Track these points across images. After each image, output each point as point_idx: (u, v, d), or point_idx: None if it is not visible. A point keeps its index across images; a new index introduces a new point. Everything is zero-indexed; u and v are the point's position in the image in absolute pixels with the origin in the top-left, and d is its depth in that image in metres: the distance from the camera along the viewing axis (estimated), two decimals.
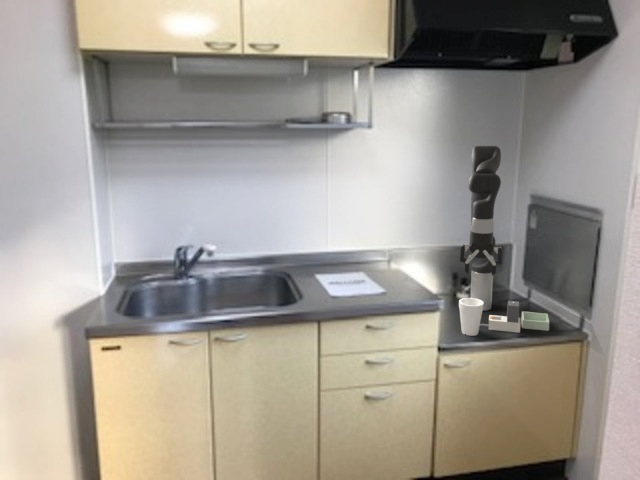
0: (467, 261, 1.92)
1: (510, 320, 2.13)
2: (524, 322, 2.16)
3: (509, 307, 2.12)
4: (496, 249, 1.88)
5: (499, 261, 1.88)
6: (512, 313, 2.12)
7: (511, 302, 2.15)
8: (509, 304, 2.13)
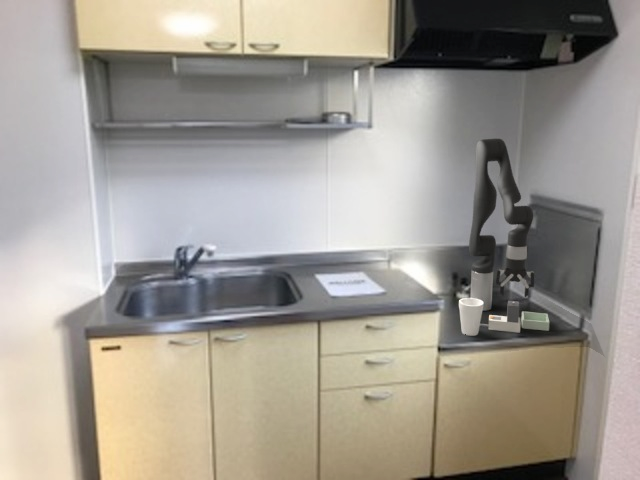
0: (502, 284, 2.12)
1: (510, 320, 2.13)
2: (524, 322, 2.16)
3: (509, 307, 2.12)
4: (529, 273, 2.09)
5: (532, 284, 2.09)
6: (512, 313, 2.12)
7: (511, 302, 2.15)
8: (509, 304, 2.13)
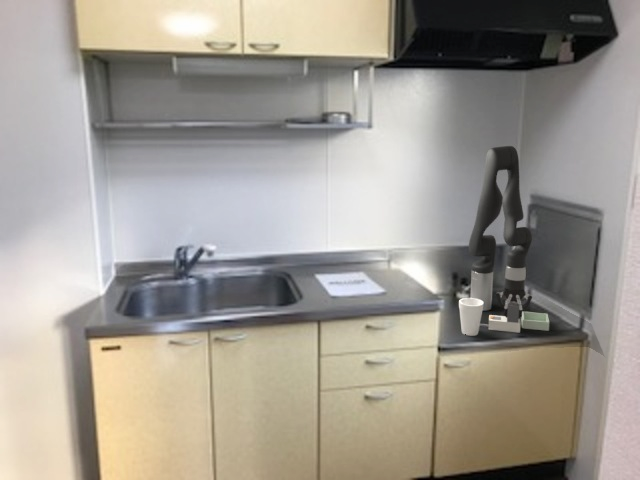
0: (506, 306, 2.14)
1: (510, 320, 2.13)
2: (524, 322, 2.16)
3: (509, 307, 2.12)
4: (527, 296, 2.11)
5: (525, 306, 2.11)
6: (512, 313, 2.12)
7: (511, 302, 2.15)
8: (509, 304, 2.13)
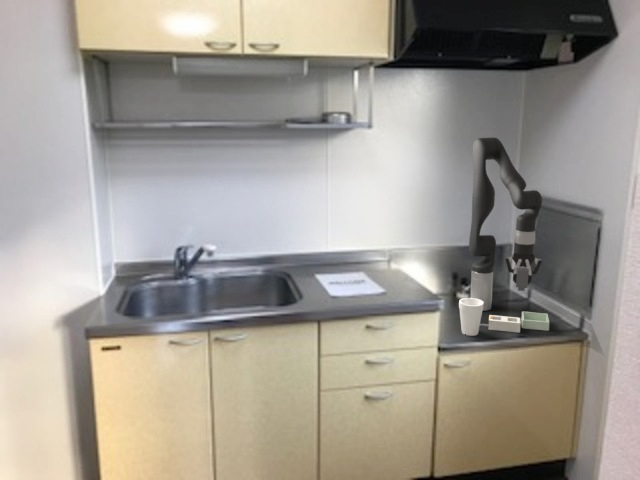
0: (515, 272, 2.12)
1: (519, 285, 2.11)
2: (524, 322, 2.16)
3: (518, 272, 2.10)
4: (537, 260, 2.09)
5: (534, 271, 2.09)
6: (521, 278, 2.10)
7: (520, 267, 2.13)
8: (518, 269, 2.11)
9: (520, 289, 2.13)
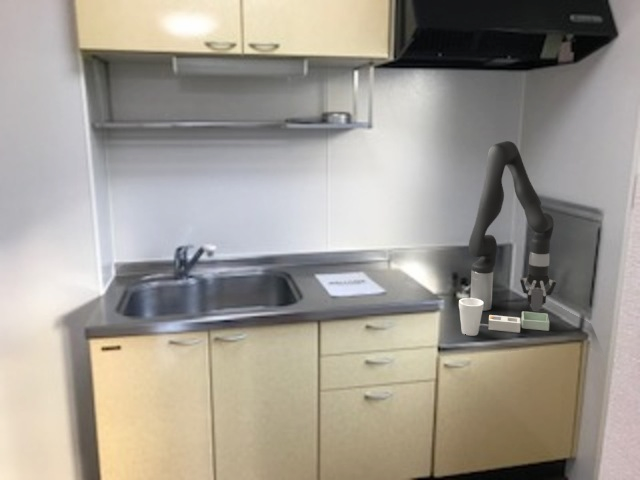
0: (530, 293, 2.16)
1: (534, 306, 2.15)
2: (524, 322, 2.16)
3: (533, 293, 2.14)
4: (551, 282, 2.13)
5: (549, 292, 2.14)
6: (536, 299, 2.14)
7: (535, 288, 2.17)
8: (533, 290, 2.15)
9: (535, 310, 2.17)
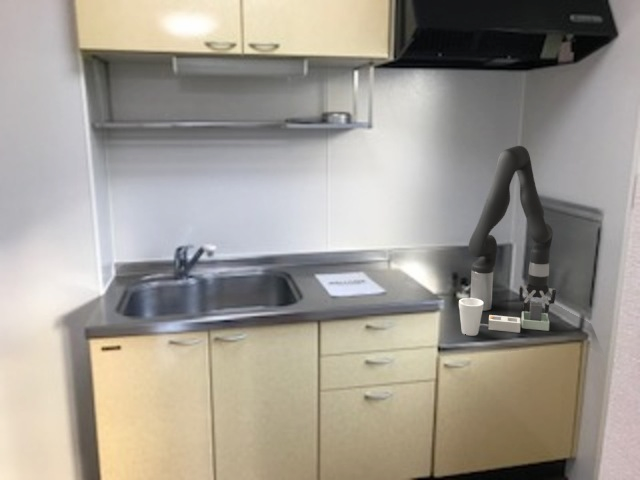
0: (526, 300, 2.18)
1: (533, 320, 2.17)
2: (524, 322, 2.16)
3: (532, 307, 2.16)
4: (551, 290, 2.14)
5: (552, 301, 2.14)
6: (535, 313, 2.16)
7: (534, 302, 2.19)
8: (532, 304, 2.17)
9: None
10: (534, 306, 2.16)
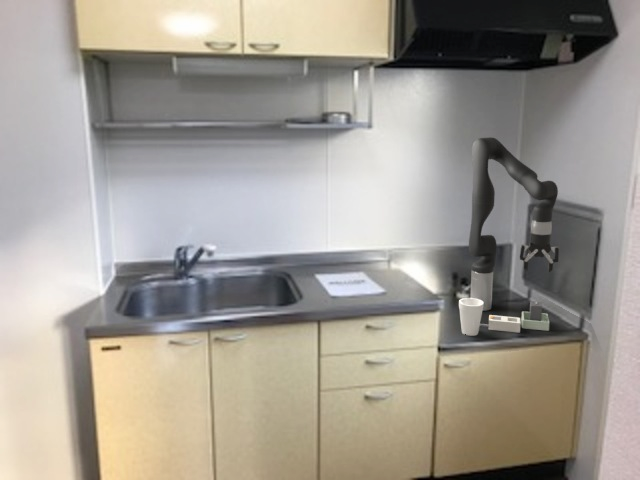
0: (526, 259, 2.14)
1: (533, 320, 2.17)
2: (524, 322, 2.16)
3: (532, 307, 2.16)
4: (553, 249, 2.10)
5: (556, 259, 2.10)
6: (535, 314, 2.16)
7: (534, 302, 2.19)
8: (532, 304, 2.17)
9: None
10: (534, 306, 2.16)
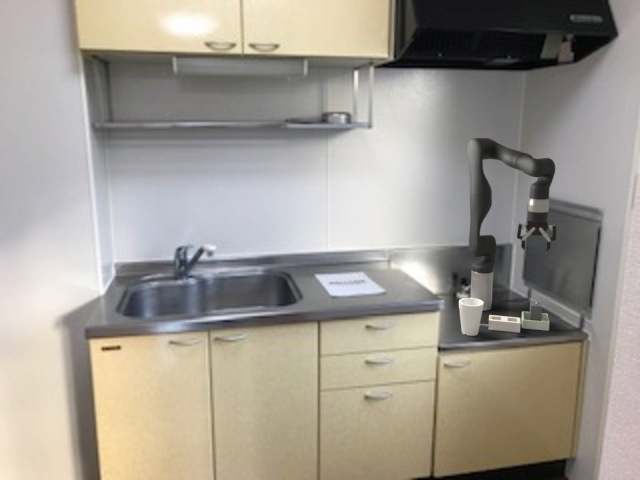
0: (524, 238, 2.11)
1: (533, 320, 2.17)
2: (524, 322, 2.16)
3: (532, 307, 2.16)
4: (551, 227, 2.08)
5: (553, 238, 2.08)
6: (535, 314, 2.16)
7: (534, 302, 2.19)
8: (532, 304, 2.17)
9: None
10: (534, 306, 2.16)
